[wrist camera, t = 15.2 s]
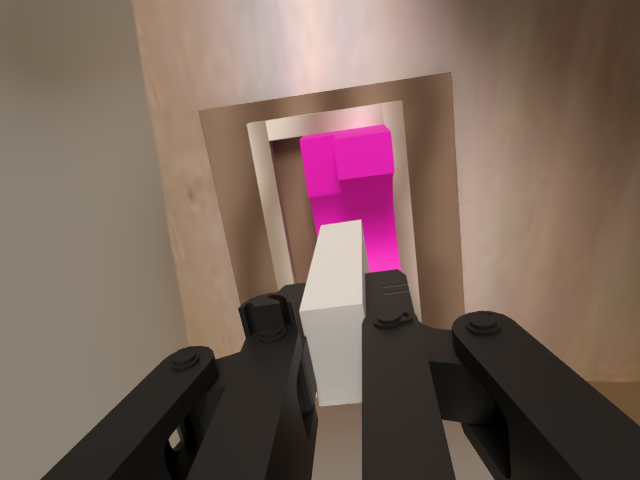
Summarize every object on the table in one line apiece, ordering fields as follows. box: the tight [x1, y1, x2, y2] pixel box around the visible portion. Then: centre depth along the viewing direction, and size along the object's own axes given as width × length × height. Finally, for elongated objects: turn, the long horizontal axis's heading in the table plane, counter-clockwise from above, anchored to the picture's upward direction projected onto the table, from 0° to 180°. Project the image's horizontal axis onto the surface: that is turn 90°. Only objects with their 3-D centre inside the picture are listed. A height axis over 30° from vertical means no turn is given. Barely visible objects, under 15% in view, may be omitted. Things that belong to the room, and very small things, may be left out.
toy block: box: [300, 124, 401, 273], centre depth 36 cm, size 15×6×8 cm, turn 8°
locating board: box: [199, 72, 465, 330], centre depth 40 cm, size 20×24×3 cm
